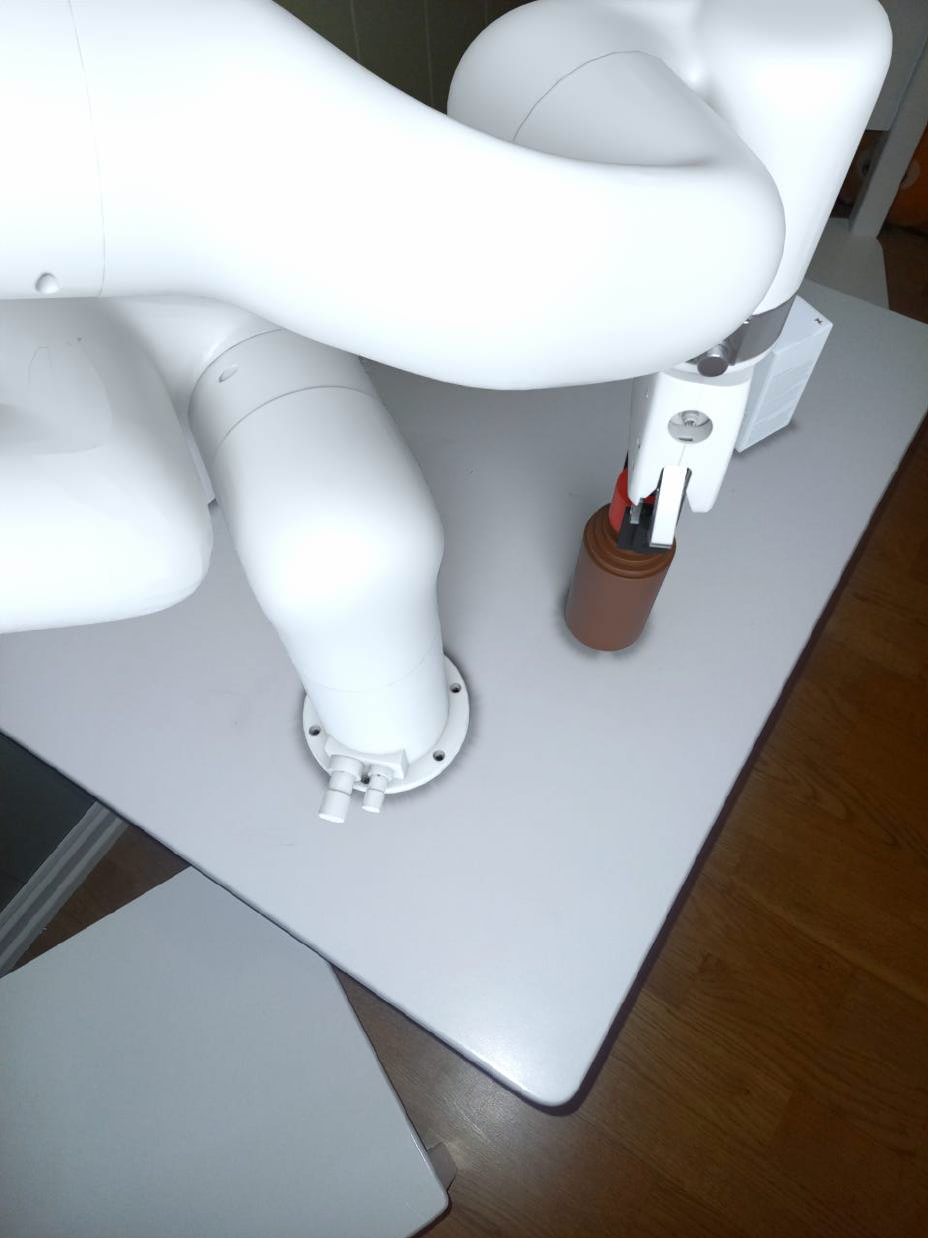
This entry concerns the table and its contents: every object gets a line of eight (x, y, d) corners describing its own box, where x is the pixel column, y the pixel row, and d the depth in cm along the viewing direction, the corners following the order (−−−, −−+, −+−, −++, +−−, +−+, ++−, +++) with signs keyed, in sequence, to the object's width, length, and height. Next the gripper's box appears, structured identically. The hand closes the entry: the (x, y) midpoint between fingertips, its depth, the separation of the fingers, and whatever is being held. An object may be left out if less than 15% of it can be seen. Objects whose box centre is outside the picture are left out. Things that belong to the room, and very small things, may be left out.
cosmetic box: (757, 395, 79) (798, 291, 68) (788, 425, 77) (836, 323, 66) (706, 424, 77) (741, 322, 67) (737, 455, 76) (778, 355, 65)
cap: (656, 488, 57) (666, 457, 54) (675, 534, 55) (687, 505, 52) (601, 498, 56) (608, 468, 53) (618, 545, 55) (627, 516, 52)
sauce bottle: (652, 646, 67) (708, 528, 52) (572, 655, 66) (606, 538, 52) (635, 577, 70) (682, 447, 55) (558, 585, 69) (585, 456, 55)
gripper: (800, 439, 35) (699, 636, 52) (782, 184, 43) (699, 425, 59) (620, 422, 36) (576, 623, 52) (635, 174, 44) (592, 415, 60)
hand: (642, 516), depth 56 cm, fingers open, 4 cm apart
